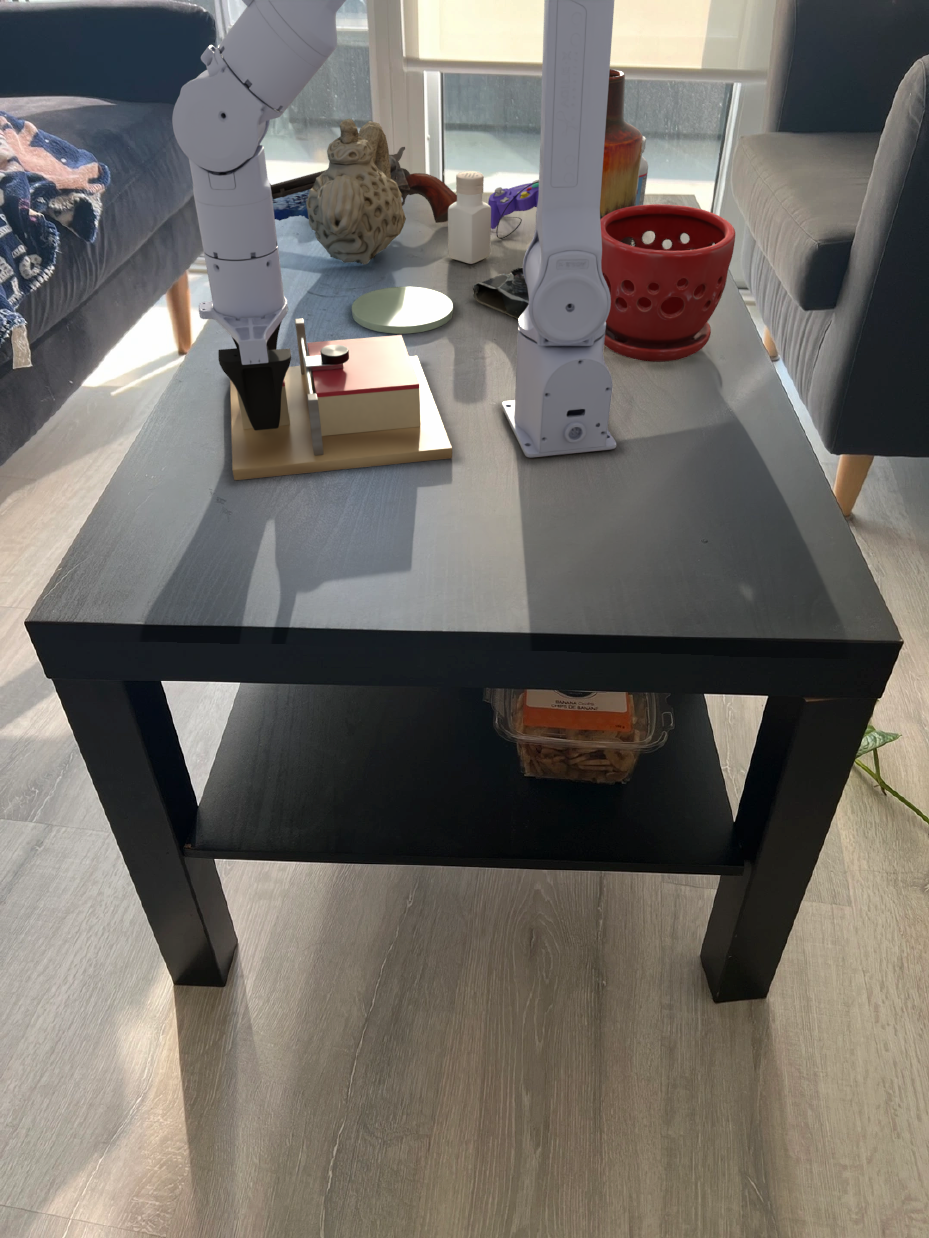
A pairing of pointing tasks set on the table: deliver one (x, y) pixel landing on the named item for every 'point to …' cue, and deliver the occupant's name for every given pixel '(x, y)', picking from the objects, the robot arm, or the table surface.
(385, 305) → the plate
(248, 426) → the cake slice
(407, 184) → the revolver
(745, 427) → the table surface
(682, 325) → the flower pot
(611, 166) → the vase
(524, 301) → the camera
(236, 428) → the board
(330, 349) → the blade
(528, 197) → the game controller
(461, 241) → the pepper shaker
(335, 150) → the teapot
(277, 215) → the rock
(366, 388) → the red and beige block
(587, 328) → the robot arm
